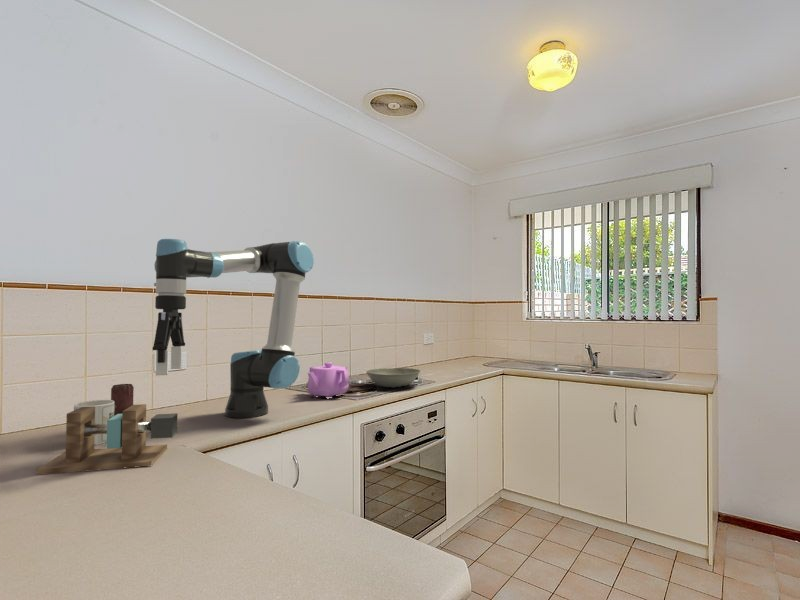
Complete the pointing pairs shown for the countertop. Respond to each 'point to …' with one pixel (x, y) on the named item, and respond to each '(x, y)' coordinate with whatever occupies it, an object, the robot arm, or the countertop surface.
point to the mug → (99, 415)
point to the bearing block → (88, 458)
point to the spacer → (114, 432)
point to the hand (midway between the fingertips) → (169, 372)
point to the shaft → (145, 426)
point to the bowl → (393, 376)
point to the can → (122, 397)
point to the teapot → (328, 380)
